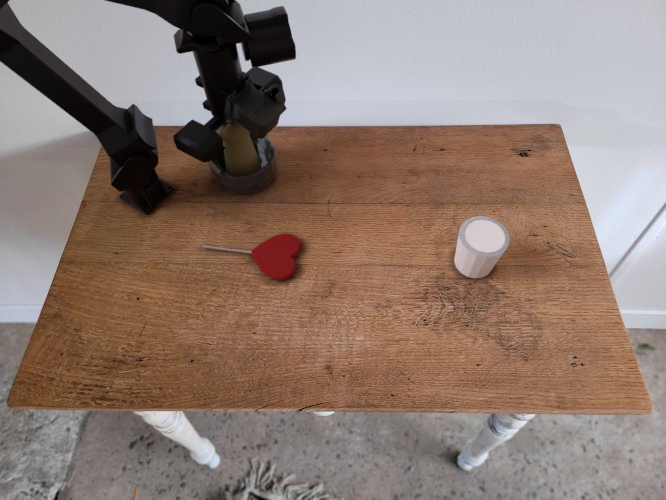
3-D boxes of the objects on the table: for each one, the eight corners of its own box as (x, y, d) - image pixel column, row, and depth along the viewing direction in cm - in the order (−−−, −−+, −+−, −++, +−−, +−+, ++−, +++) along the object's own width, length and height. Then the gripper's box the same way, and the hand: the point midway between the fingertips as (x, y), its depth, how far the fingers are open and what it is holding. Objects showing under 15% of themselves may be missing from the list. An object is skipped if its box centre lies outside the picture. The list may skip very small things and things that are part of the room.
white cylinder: (501, 252, 73) (515, 224, 67) (489, 288, 70) (503, 263, 64) (457, 236, 75) (467, 209, 69) (443, 272, 71) (452, 245, 65)
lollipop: (194, 270, 72) (292, 283, 71) (193, 267, 71) (292, 280, 70) (210, 226, 77) (303, 238, 75) (209, 223, 76) (302, 234, 74)
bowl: (200, 179, 82) (193, 160, 78) (241, 140, 87) (236, 121, 83) (251, 206, 79) (246, 188, 75) (290, 164, 84) (288, 145, 80)
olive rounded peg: (219, 176, 81) (203, 126, 72) (236, 151, 84) (223, 101, 75) (251, 186, 80) (239, 136, 71) (267, 161, 83) (258, 110, 74)
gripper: (220, 133, 59) (243, 211, 72) (307, 53, 67) (314, 136, 81) (155, 101, 63) (188, 181, 76) (245, 29, 71) (261, 112, 84)
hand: (241, 152), depth 79 cm, fingers open, 9 cm apart
